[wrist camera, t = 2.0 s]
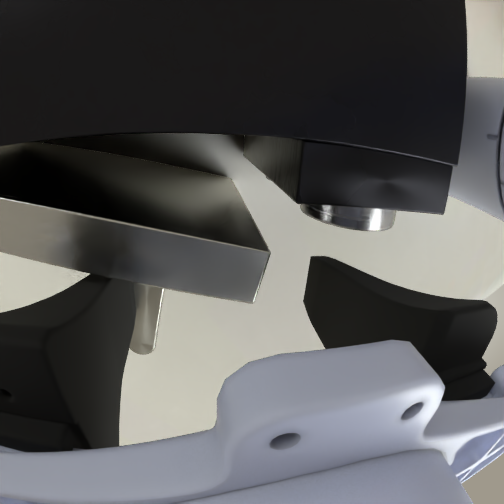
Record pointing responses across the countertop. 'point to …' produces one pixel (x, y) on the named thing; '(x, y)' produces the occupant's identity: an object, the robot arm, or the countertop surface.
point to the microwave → (256, 89)
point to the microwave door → (130, 225)
